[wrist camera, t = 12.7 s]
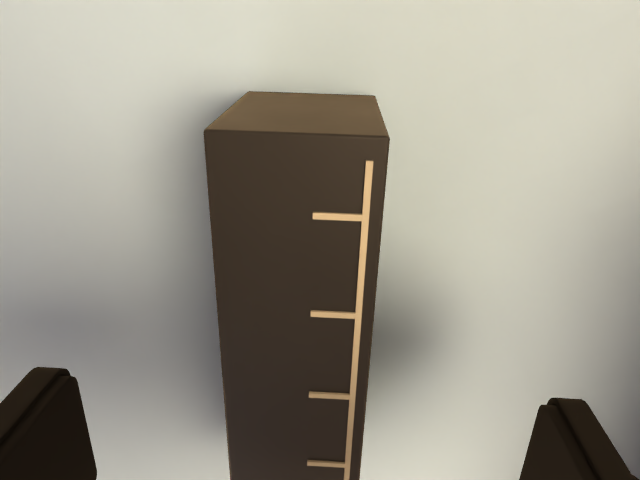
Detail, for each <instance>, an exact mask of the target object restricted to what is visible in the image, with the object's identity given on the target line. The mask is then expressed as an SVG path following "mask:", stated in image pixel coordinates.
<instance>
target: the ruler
mask: <svg viewBox="0 0 640 480" xmlns="http://www.w3.org/2000/svg"><path fill="white" fill-rule="evenodd" d="M389 141H390V138H389V135H388V132H387V130H386V127H385V124H384V121H383V118H382V115H381V112H380V109H379V106H378V103H377V100H376V98H375V96H367V95H338V94H309V93H281V92H252V91H249V92H247V93H246V94H245V95H244V96H243V97H241V98H240V99H239V100H238V101H237V102H236V103H235V104H233V105H232V106H231V107H230V108H229V109H228V110H226V111H225V112H224V113H223V114H222V115H221V116H220V117H218V118H217V119H216V120H215V121H214V122H213V123H211V124H210V125H209V126H208V127H207V128H206V129H205V130H204V143H205V157H206V170H207V183H208V196H209V209H210V222H211V235H212V248H213V261H214V274H215V287H216V300H217V313H218V326H219V339H220V352H221V365H222V378H223V391H224V404H225V417H226V430H227V443H228V456H229V469H230V480H359V478H360V467H361V456H362V444H363V433H364V422H365V411H366V399H367V388H368V377H369V366H370V354H371V343H372V332H373V321H374V309H375V298H376V287H377V276H378V264H379V253H380V242H381V231H382V219H383V208H384V197H385V186H386V174H387V163H388V152H389Z"/></svg>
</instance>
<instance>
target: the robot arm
mask: <svg viewBox="0 0 640 480" xmlns="http://www.w3.org/2000/svg"><path fill="white" fill-rule="evenodd" d="M96 477H97V469H96V464H95V460H94V455H93V451H92V446H91V441H90V437H89V432H88V428H87V423H86V419H85V414H84V409H83V405H82V400H81V396H80V391H79V387H78V382H77V379H76V378H75V377H73V376H70V373H69V371H68V370H67V369H63V368H47V367H36V368H34V369H32V370H31V371H30V372H29V373H28V374H27V375H26V376H25V377H24V378H23V379H22V381H21V382H20V383H19V384H18V385H17V386H16V387H15V388H14V389H13V390H12V391H11V392H10V394H9V395H8V396H7V397H6V398H5V399H4V400H3V401H2V402H1V403H0V480H96ZM519 480H639V479H638V478H636V477H635V476H633V475H632V474H631V473H630V471H629V469H628V468H627V466H626V465H625V463H624V461H623V460H622V458H621V457H620V455H619V453H618V452H617V450H616V449H615V447H614V445H613V444H612V442H611V441H610V439H609V438H608V436H607V434H606V433H605V431H604V430H603V428H602V426H601V425H600V423H599V422H598V420H597V418H596V417H595V415H594V414H593V412H592V410H591V409H590V407H589V406H588V404H587V403H586V402H585V401H584V400H582V399H566V398H551V399H550V400H549V401H548V403H547V405H541V406H540V407H539V410H538V413H537V417H536V420H535V424H534V428H533V431H532V435H531V439H530V442H529V446H528V450H527V453H526V457H525V461H524V465H523V468H522V472H521V476H520V479H519Z"/></svg>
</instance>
